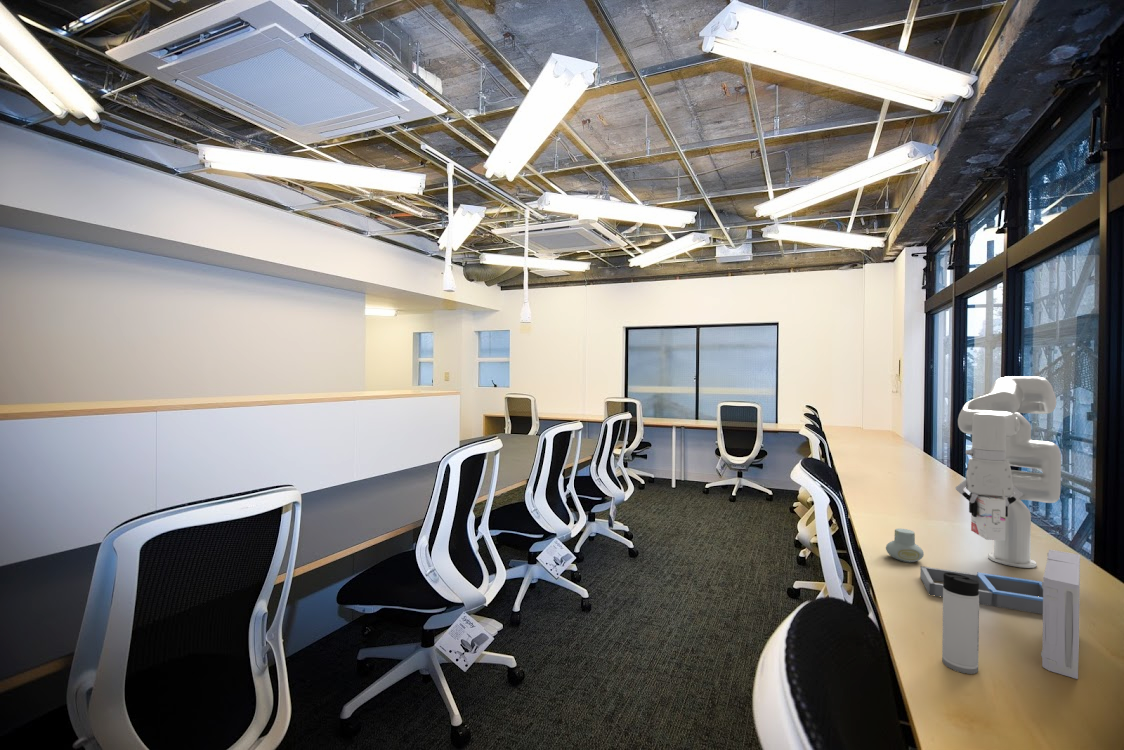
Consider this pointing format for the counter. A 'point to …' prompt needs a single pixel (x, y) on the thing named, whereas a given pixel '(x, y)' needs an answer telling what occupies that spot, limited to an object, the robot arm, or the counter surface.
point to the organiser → (993, 589)
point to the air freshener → (904, 546)
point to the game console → (1061, 613)
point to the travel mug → (960, 623)
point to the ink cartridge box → (990, 517)
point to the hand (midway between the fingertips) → (988, 516)
